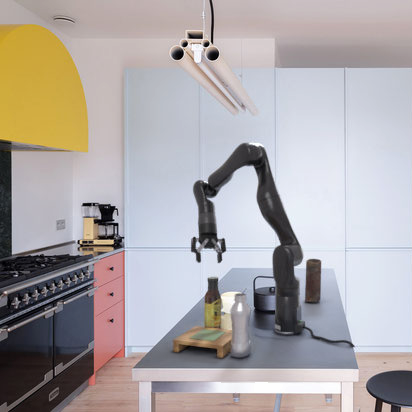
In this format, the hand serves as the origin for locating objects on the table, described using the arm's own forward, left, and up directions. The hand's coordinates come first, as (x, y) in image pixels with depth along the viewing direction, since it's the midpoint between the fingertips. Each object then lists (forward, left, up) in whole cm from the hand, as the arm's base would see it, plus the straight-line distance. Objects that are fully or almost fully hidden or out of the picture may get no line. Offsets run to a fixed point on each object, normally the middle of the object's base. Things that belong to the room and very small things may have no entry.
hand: (209, 262), depth 169 cm
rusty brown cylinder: (-34, -37, -24) cm, 55 cm away
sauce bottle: (-7, +10, -24) cm, 27 cm away
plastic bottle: (-28, +30, -24) cm, 47 cm away
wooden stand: (-14, +26, -23) cm, 38 cm away
